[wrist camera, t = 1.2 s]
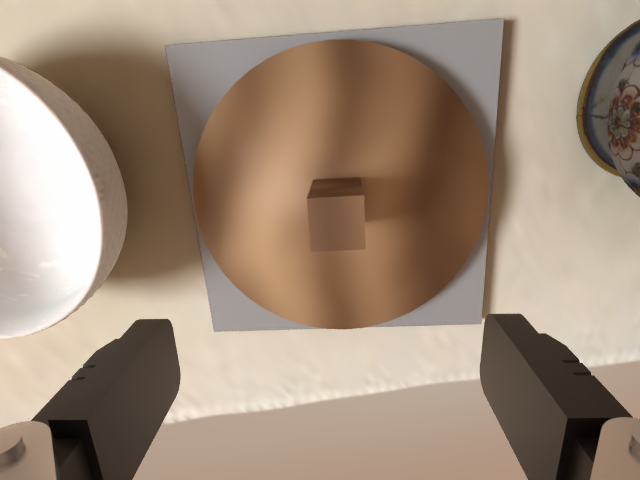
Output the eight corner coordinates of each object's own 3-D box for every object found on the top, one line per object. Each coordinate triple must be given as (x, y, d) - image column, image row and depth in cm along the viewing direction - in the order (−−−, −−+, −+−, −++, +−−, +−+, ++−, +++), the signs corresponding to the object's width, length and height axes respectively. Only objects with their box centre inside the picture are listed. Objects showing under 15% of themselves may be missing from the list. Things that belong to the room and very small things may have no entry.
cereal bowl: (152, 307, 32) (103, 363, 26) (-60, 269, 32) (-165, 315, 25) (161, 76, 26) (100, 71, 20) (-97, 29, 26) (-245, 7, 20)
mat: (498, 20, 24) (504, 18, 24) (477, 318, 31) (481, 323, 30) (170, 46, 26) (164, 45, 25) (217, 326, 32) (214, 331, 32)
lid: (494, 28, 24) (541, 8, 18) (474, 318, 30) (505, 370, 24) (174, 53, 25) (125, 42, 20) (219, 325, 31) (192, 376, 26)
